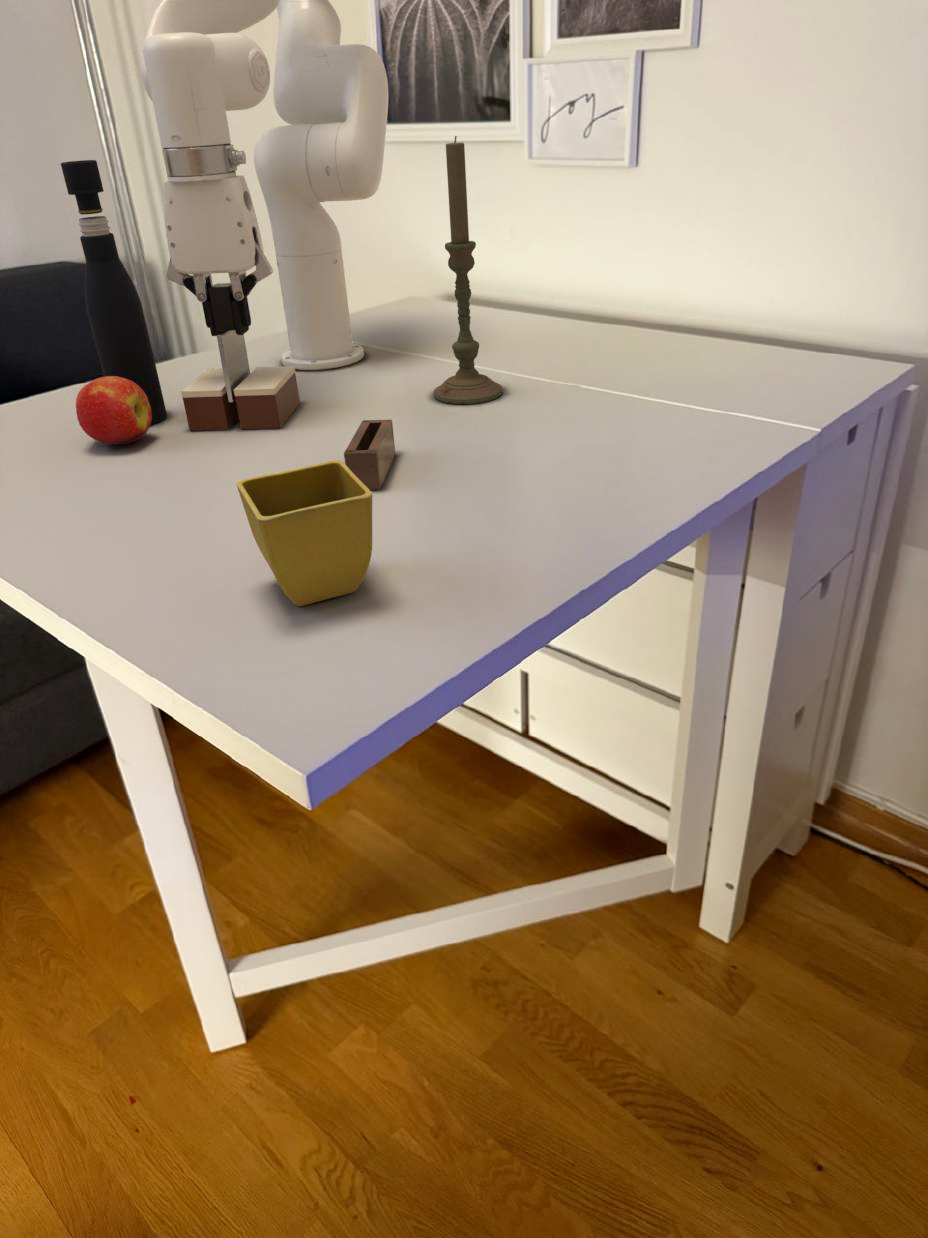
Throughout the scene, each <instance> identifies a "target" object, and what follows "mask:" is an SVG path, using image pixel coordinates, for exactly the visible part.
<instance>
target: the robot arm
mask: <svg viewBox="0 0 928 1238" xmlns="http://www.w3.org/2000/svg"><path fill="white" fill-rule="evenodd" d="M275 10H276V11H277V15H278V33H277V44H276V56H275V64H274V77H273V88H272V89H273V91H272V92H273V93H272V94H273V102H274V108H275V111H276V113H277V115H278V116H279V117H280V118H281V120H282V121H283V122H285V123H287V124H286V125H280V126H277V127H273V128H270V129H267V130H266V131H265V132H263V133H262V134H261V135H260V136H259V138H258V139H257V141H256V143H255V145H254V148H253V149H254V150H253V165H254V168H255V174H256V177H257V180H258V184H259V187H260V190H261V192H262V195H263V199H264V201H265V205H266V210H267V214H268V217H269V222H270V228H271V233H272V239H273V245H274V252H275V258H276V266H277V271H278V272H277V273H278V279H279V285H280V292H281V297H282V304H283V310H284V319H285V324H286V330H287V338H288V344H289V349H288V350H286V351H284V352H283V353H282V354H281V356H280V359H281V364H282V366H294V367H295V370H300V371H318V370H319V371H320V370H330V369H336V368H341V367H346V366H350V365H352V364H356V363H357V362H359V361H361V360H362V359H363V358H364V357H365V350H364V347H363V346H362V345H360V344H357V343H354V342H353V334H352V326H351V325H352V324H351V318H350V308H349V300H348V299H349V298H348V292H347V291H348V289H347V282H346V275H345V273H346V272H345V265H344V258H343V249H342V241H341V235H340V232H339V230H338V227H337V225H336V223H335V222H334V220H333V218H332V216H330V214H329V213H328V212H327V210H326V209H325V208H324V207H323V205H322V204H321V203H326V202H347V201H348V202H349V201H362V200H366V199H369V198H371V197H373V196H374V195H375V194H376V193H377V191H378V189H379V188H380V184H381V181H382V176H383V165H384V155H385V145H386V134H387V123H388V113H389V112H388V111H389V82H388V81H389V80H388V76H387V71H386V67H385V64H384V62H383V59H382V57H381V55H379V53H378V52H377V51H376V50H375V49H374V48H373V47H370V46H369V45H365V44H360V43H359V44H357V43H356V44H354V43H352V44H341V35H342V34H341V33H342V25H341V20H340V17H339V15H338V13H337V11H336V9H335V8H334V6H333V5H332V4H331V2H330V0H162V1H161V2H160V3H159V5H158V6H157V7H156V9H155V11H154V13H153V15H152V18H151V20H150V23H149V26H148V28H147V32H146V34H145V38H144V42H143V44H142V49H141V57H140V74H141V80H142V84H143V87H144V90H145V92H146V94H147V96H148V97H149V99H150V100H151V101H152V106H153V111H154V115H155V121H156V126H157V131H158V137H159V140H160V146H161V147H160V148H161V151H162V156H163V161H164V166H165V172H166V175H167V180H164V181H163V182H162V199H163V200H162V201H163V202H162V204H163V217H164V218H163V219H164V226H165V228H164V229H165V234H166V241H167V242H166V243H167V248H168V253H169V257H170V258H169V262H168V266H167V271H166V278H167V279H168V280H169V281H171V282H173V283H175V284H177V285H180V286H184V287H185V288H186V289H187V290H188V291H189V292H190V293H192V294H193V296H195V297H196V300H197V301H198V302H199V303H201V306H202V311H203V316H204V321H205V325H206V327H207V328H208V329H209V330H210V335H211V337H217V335H218V334H220V333H221V332H223V331H216V328H215V322H214V317H213V311H212V305H211V300H210V294H209V289H208V288H209V287H211V286H213V285H214V283H213V276H212V274H228V278H229V283H231V287H232V291H233V301H231V308H232V313H233V319H234V324H235V332H236V334H238V335H243V334H244V335H245V334H247V332H248V331H249V330H250V327H251V325H252V316H251V311H250V306H249V299H248V296H249V295H250V294H251V292H252V290H253V289H254V288H255V286H256V285H257V284H258V283H259V282H261V281H263V280H264V279H266V278H268V277H269V276H271V275H272V274H273V272H274V268H273V267H272V265H271V263H270V262H269V260H268V258H267V257H266V255H265V253H264V245H263V241H262V236H261V231H260V227H259V223H258V218H257V214H256V210H255V207H254V203H253V200H252V199H253V198H252V195H251V193H250V192H251V191H250V189H249V187H248V183H247V180H246V178H245V176H244V175H237V170H238V167H240V165H246V164H247V155H246V152H245V150H238V149H236V148H235V147H234V144H232V140H231V134H230V128H229V123H228V122H229V121H228V116H227V112H233V111H234V112H235V111H244V110H250V109H252V108H255V107H256V106H258V105H260V104H261V103H262V101H264V99H265V98H266V96H267V94H268V91H269V89H270V84H271V72H270V71H271V70H270V65H269V61H268V59H267V57H266V55H265V52H264V51H263V49H262V48H261V47H260V45H259V44H258V43H257V42H256V41H255V40H254V39H252V38H251V37H249V36H247V35H245V34H242V33H240V32H243V31H245V30H246V29H249V28H251V27H253V26H254V25H257V24H258V23H260V22H261V21H263V20H265V19H266V18H268V17H270V15H271V14H272V13H274V11H275ZM254 267H255V270H254V271H252V272H251V273H249V274H248V273H247V272H248V271H250V270H252V269H253V268H254ZM247 274H248V275H247Z"/></svg>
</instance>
